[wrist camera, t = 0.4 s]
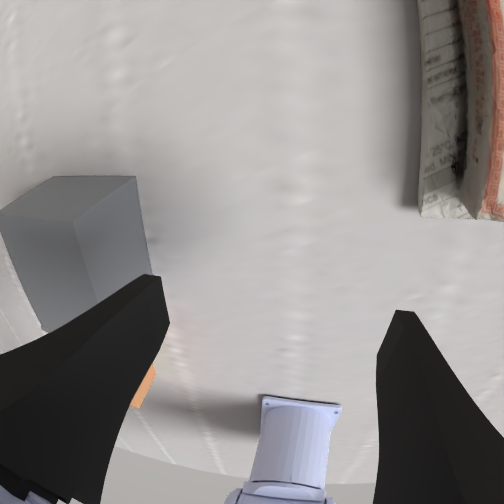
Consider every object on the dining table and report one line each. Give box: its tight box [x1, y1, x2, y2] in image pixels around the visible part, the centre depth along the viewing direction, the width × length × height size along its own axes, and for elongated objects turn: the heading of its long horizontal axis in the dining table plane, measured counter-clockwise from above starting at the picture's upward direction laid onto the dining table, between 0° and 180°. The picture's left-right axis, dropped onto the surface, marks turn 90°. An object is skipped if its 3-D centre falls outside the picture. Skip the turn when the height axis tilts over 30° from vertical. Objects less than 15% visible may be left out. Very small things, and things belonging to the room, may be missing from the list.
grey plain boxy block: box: [0, 176, 152, 333], centre depth 20 cm, size 11×8×6 cm
